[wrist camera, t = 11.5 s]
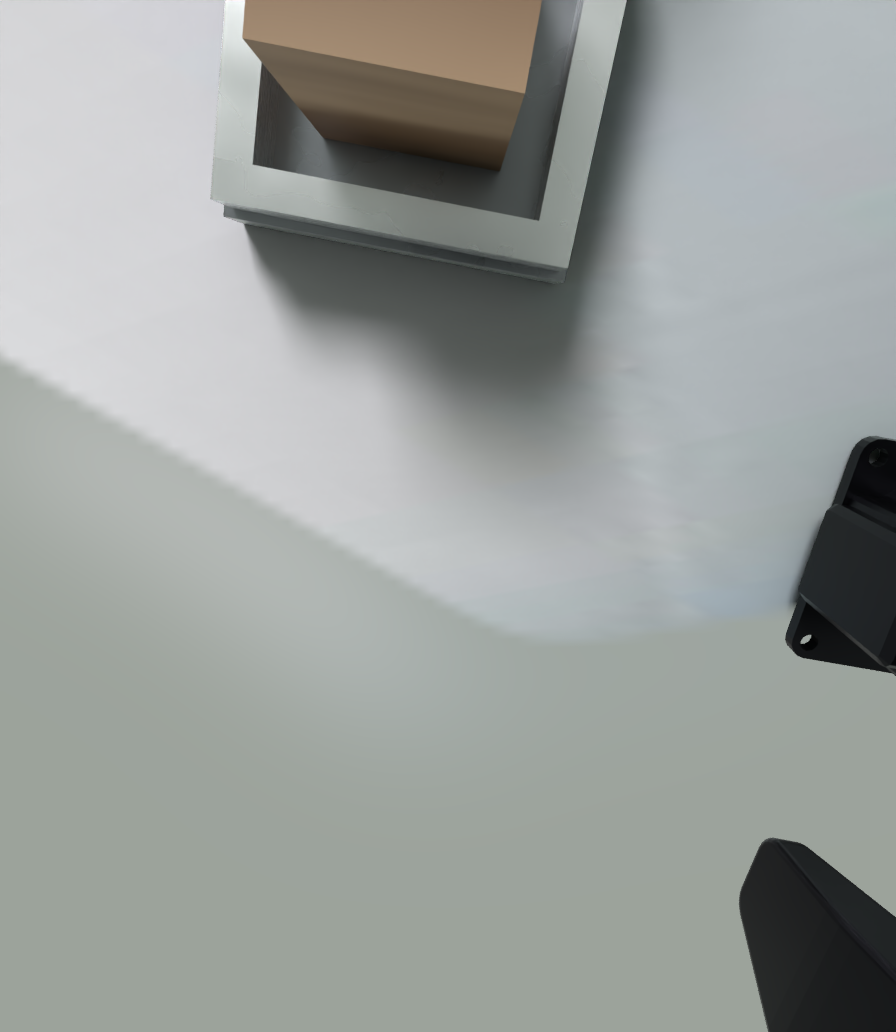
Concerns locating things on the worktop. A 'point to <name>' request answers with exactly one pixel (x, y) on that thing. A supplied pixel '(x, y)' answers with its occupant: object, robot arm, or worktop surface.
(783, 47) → the worktop surface
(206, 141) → the worktop surface
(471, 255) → the grey base plate
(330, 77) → the tan wooden block
